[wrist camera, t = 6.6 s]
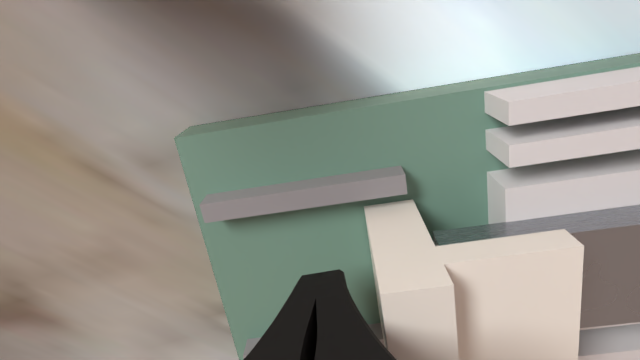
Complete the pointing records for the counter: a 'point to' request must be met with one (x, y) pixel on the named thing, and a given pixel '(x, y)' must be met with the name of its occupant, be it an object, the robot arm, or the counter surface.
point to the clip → (474, 291)
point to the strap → (585, 257)
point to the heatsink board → (409, 179)
